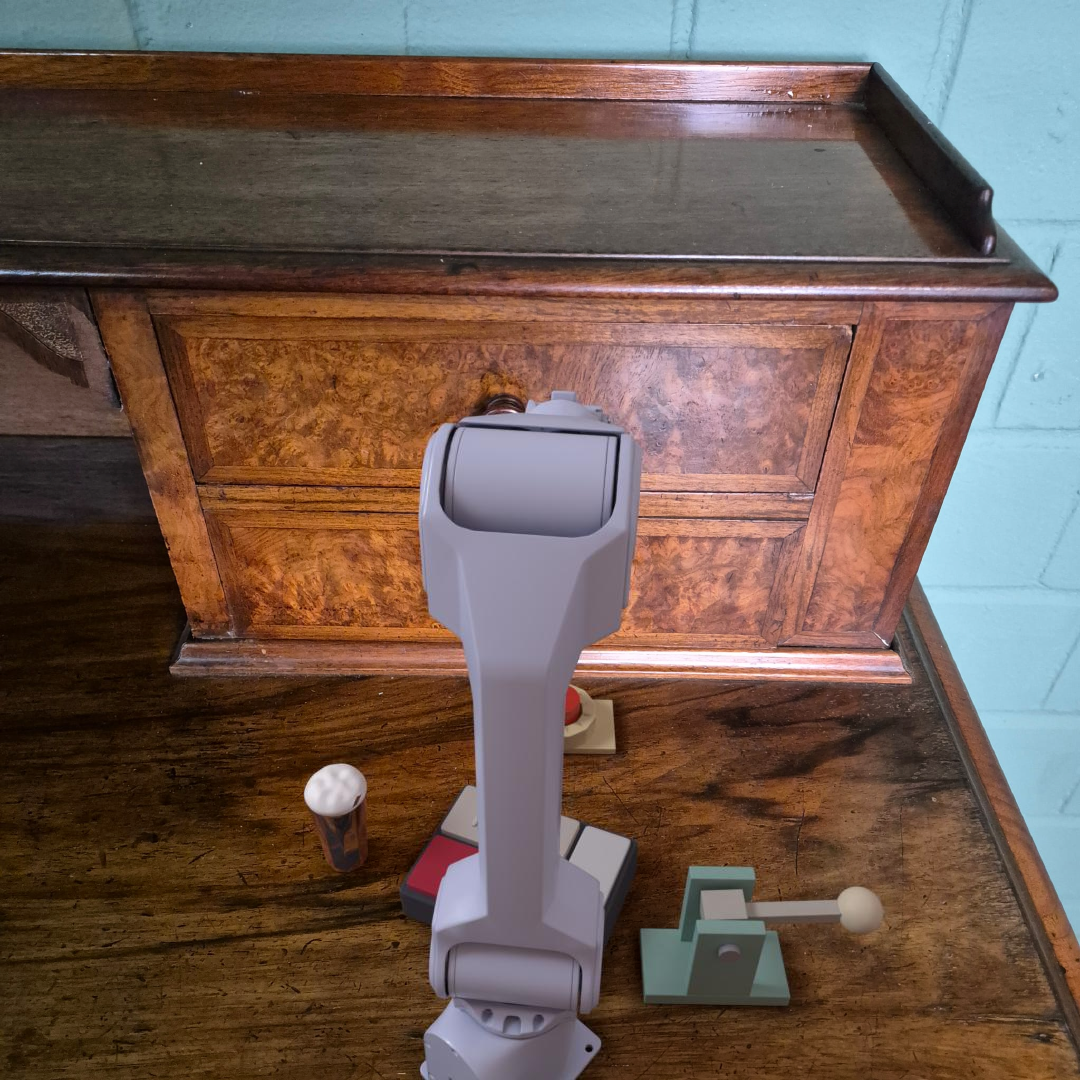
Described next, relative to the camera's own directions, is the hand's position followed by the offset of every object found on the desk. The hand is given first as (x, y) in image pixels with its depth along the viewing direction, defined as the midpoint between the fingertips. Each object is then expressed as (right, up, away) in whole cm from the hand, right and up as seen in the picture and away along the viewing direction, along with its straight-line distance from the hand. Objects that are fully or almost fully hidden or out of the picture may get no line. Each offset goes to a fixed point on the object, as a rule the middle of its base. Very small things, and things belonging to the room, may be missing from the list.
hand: (560, 670), depth 82 cm
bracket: (+11, -20, -14) cm, 26 cm away
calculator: (-3, -16, -9) cm, 19 cm away
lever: (+15, -15, -18) cm, 28 cm away
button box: (0, -6, +4) cm, 7 cm away
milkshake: (-17, -14, -7) cm, 23 cm away
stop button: (0, -4, +3) cm, 5 cm away
